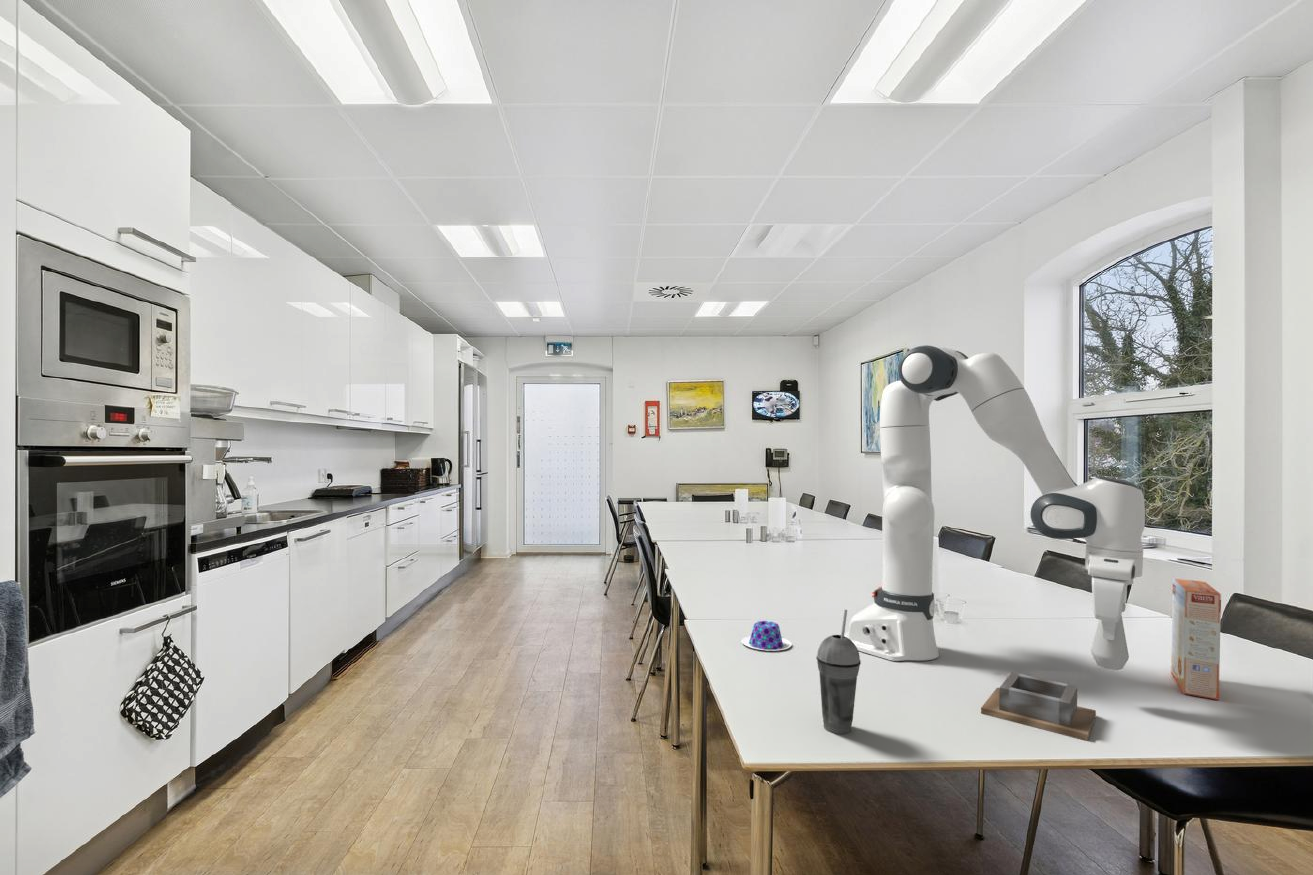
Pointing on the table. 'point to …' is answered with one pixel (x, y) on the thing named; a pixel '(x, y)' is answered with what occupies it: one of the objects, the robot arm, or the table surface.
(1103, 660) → the salt shaker
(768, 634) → the pudding
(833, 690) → the beverage cup
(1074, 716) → the socket block
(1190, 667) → the cracker box
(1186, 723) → the table surface
